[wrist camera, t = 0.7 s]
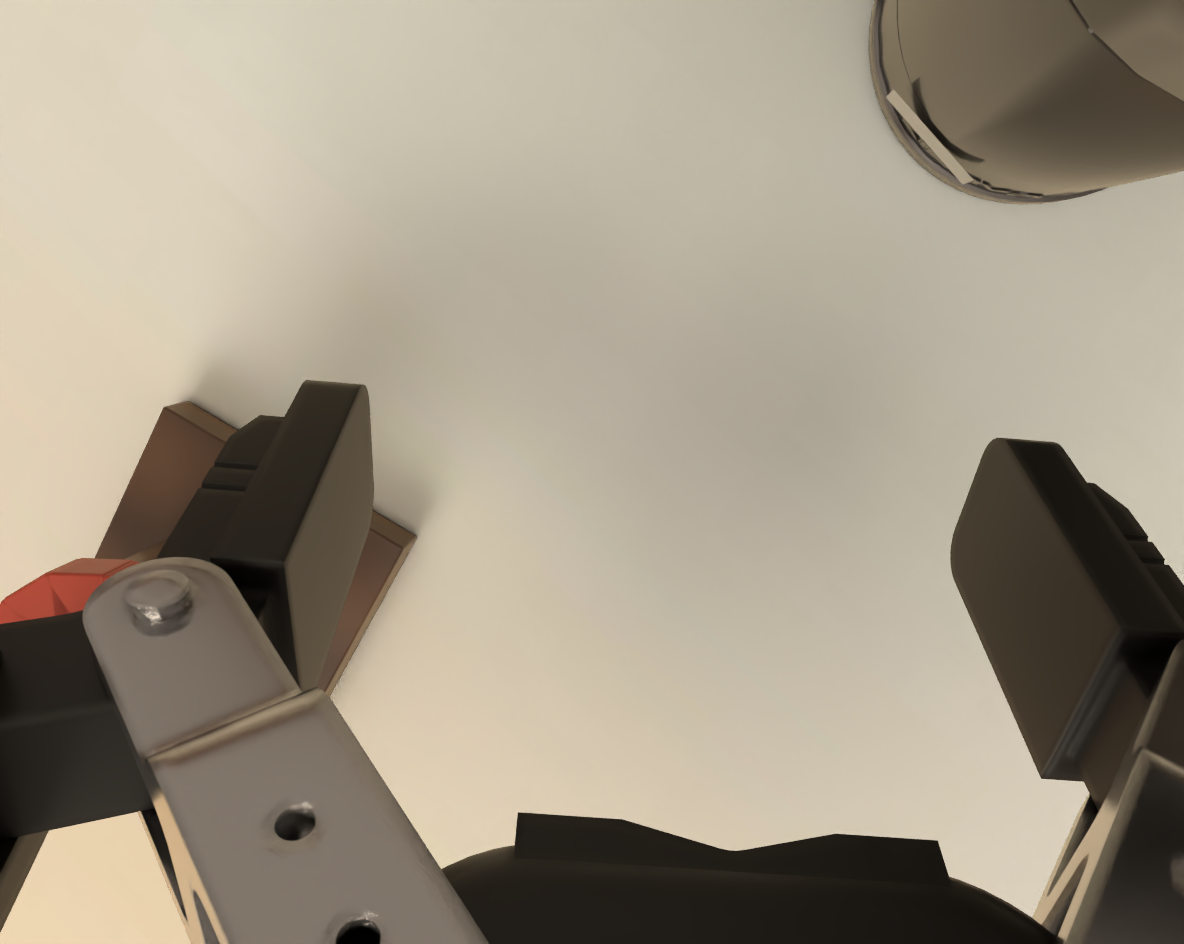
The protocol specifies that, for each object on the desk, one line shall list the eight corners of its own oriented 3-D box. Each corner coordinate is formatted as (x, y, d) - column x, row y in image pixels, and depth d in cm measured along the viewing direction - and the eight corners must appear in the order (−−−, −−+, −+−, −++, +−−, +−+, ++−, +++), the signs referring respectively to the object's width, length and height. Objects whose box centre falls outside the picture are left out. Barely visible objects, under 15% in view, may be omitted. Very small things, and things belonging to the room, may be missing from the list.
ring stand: (187, 400, 33) (-236, 501, 18) (418, 536, 33) (178, 747, 18) (87, 615, 35) (-364, 861, 20) (304, 743, 35) (7, 1082, 20)
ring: (66, 518, 26) (30, 531, 24) (254, 629, 26) (229, 649, 24) (-10, 689, 27) (-48, 711, 26) (168, 796, 27) (139, 823, 26)
